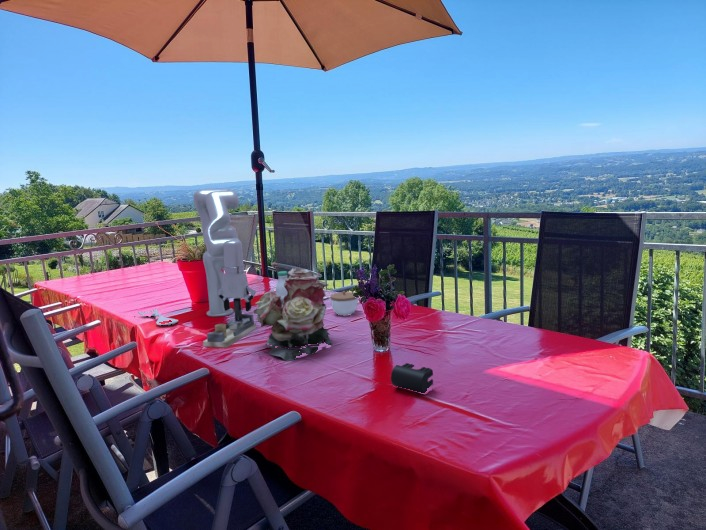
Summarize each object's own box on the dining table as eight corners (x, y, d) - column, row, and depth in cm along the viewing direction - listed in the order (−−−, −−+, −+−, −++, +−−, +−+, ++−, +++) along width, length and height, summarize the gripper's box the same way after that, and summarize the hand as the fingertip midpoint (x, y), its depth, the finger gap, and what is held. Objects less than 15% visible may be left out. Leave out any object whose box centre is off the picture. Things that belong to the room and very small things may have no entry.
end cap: (390, 391, 129) (390, 368, 127) (404, 382, 134) (403, 360, 133) (421, 399, 122) (421, 375, 121) (434, 390, 128) (434, 367, 127)
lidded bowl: (347, 319, 203) (346, 295, 201) (325, 315, 210) (324, 292, 208) (363, 312, 212) (363, 289, 211) (342, 309, 220) (341, 287, 218)
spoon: (156, 313, 229) (155, 306, 228) (182, 325, 206) (181, 317, 205) (137, 317, 223) (137, 310, 222) (162, 330, 200) (161, 322, 199)
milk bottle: (290, 314, 214) (287, 273, 211) (274, 314, 216) (271, 273, 213) (295, 310, 222) (292, 270, 219) (280, 310, 223) (277, 270, 220)
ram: (225, 329, 187) (223, 301, 185) (235, 323, 195) (232, 296, 193) (241, 329, 186) (238, 301, 184) (250, 324, 193) (247, 297, 191)
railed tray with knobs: (203, 346, 174) (201, 331, 173) (235, 327, 198) (234, 313, 197) (226, 347, 172) (225, 332, 171) (256, 327, 195) (255, 314, 195)
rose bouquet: (252, 345, 173) (246, 267, 169) (324, 332, 185) (320, 259, 180) (268, 367, 150) (261, 278, 146) (349, 351, 162) (345, 268, 157)
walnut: (214, 339, 175) (213, 326, 175) (218, 336, 179) (217, 323, 179) (224, 339, 175) (223, 326, 174) (228, 335, 179) (227, 323, 178)
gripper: (210, 271, 186) (214, 312, 189) (249, 272, 182) (252, 313, 185) (220, 268, 193) (223, 307, 196) (257, 268, 189) (260, 308, 192)
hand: (237, 310), depth 191 cm, fingers open, 9 cm apart
